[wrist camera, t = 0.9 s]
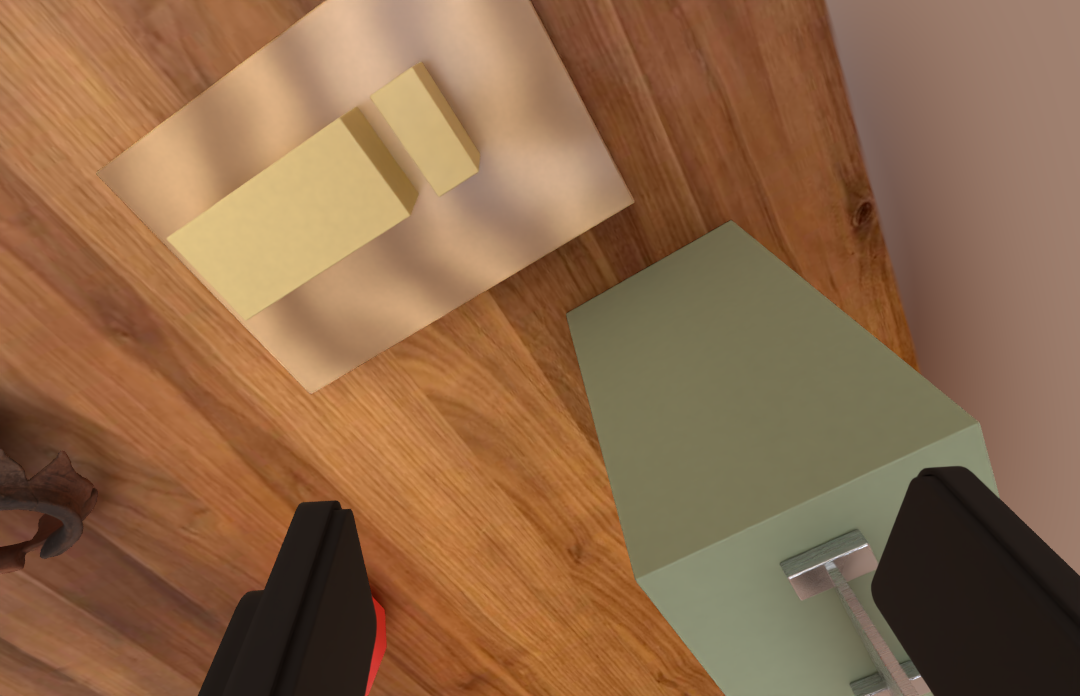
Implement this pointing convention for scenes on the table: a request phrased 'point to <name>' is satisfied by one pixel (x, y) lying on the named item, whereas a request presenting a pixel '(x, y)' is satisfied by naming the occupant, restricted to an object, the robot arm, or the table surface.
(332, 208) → the butter stick
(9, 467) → the broken pottery vessel
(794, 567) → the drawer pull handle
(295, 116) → the board
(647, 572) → the stand
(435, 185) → the butter slice
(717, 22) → the table surface
